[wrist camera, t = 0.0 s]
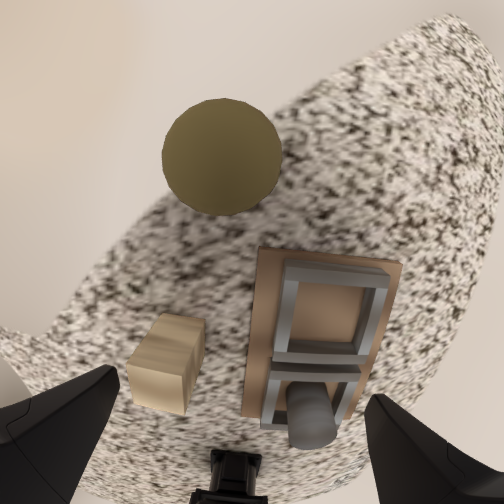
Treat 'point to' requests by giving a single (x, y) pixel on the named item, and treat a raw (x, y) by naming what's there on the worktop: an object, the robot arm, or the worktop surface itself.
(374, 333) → the board
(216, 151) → the olive green peg figure
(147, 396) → the maple pin
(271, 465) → the worktop surface
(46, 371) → the worktop surface
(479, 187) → the worktop surface
